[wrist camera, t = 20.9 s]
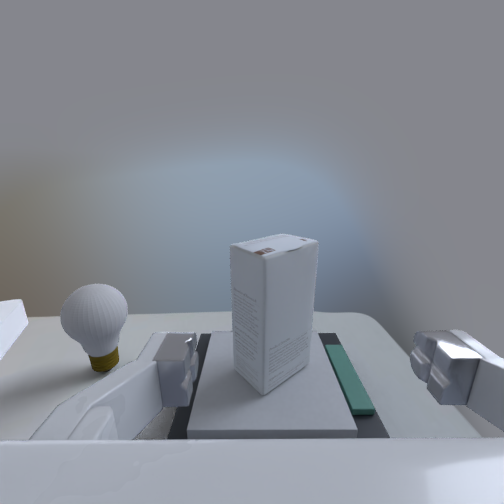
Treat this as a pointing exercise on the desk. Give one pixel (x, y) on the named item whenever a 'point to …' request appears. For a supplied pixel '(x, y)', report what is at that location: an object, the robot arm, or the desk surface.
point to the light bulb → (96, 322)
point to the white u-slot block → (11, 323)
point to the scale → (277, 398)
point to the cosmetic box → (272, 307)
